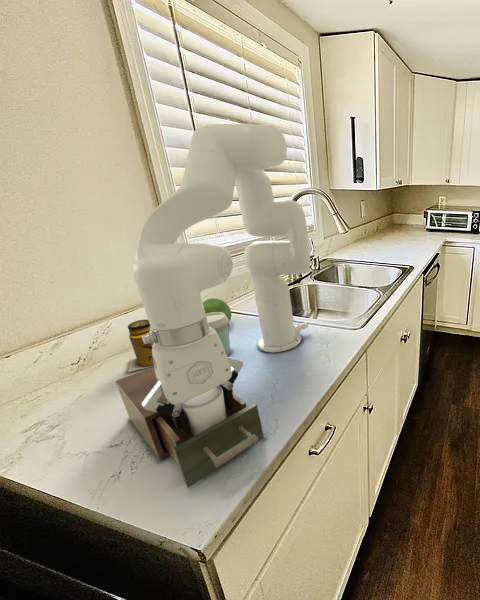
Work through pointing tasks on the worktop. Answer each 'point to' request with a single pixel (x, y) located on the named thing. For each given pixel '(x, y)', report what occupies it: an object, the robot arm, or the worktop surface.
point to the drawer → (210, 440)
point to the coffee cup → (220, 328)
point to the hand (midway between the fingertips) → (207, 416)
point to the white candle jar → (205, 410)
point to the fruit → (217, 307)
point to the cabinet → (133, 396)
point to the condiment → (140, 345)
